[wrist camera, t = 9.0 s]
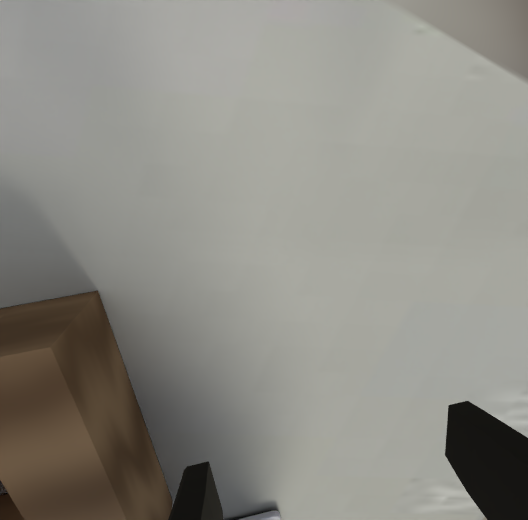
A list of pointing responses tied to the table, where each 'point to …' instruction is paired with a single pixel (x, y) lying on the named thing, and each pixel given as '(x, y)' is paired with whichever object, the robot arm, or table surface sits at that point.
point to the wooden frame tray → (72, 419)
